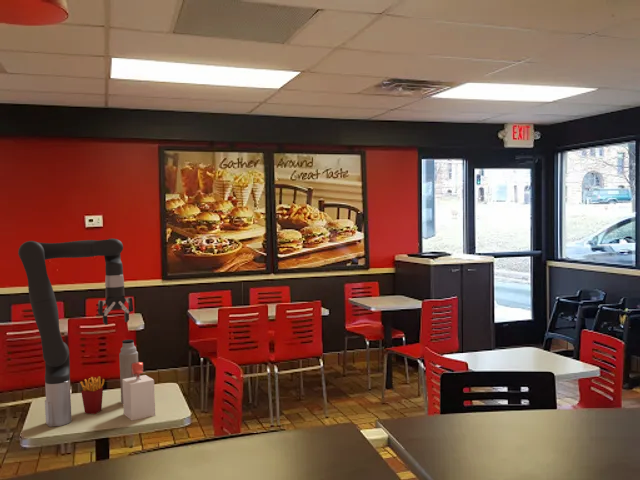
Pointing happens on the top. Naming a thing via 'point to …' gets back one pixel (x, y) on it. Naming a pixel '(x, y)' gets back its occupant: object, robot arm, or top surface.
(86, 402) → the french fries
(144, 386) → the pump dispenser
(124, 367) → the thermos bottle
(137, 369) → the pump plunger
